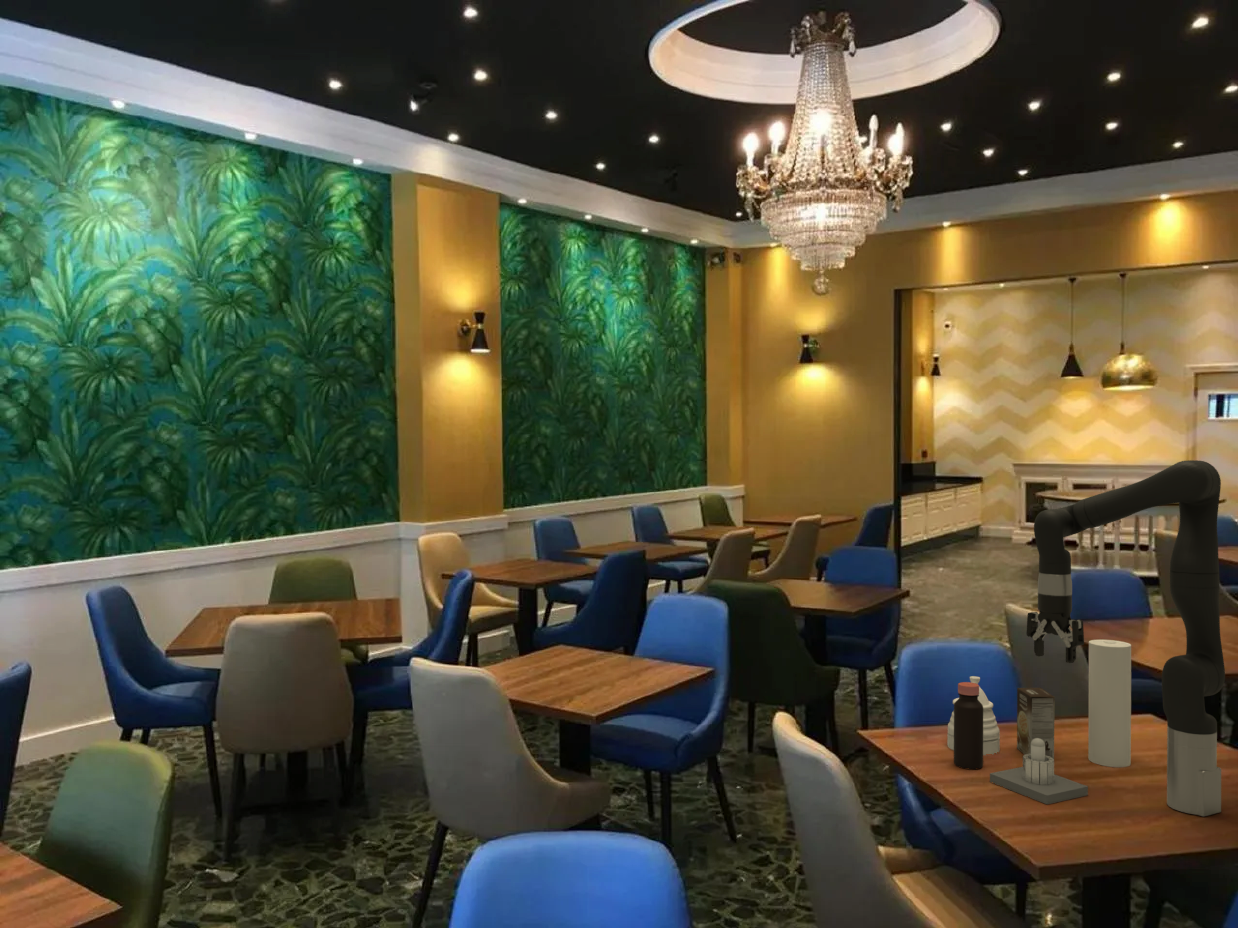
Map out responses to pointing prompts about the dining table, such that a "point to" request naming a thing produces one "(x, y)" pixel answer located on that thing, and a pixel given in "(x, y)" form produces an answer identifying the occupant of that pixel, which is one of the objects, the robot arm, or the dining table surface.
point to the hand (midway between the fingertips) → (1054, 659)
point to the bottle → (968, 727)
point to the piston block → (1042, 793)
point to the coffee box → (1035, 719)
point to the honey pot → (989, 724)
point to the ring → (1038, 770)
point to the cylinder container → (1109, 703)
